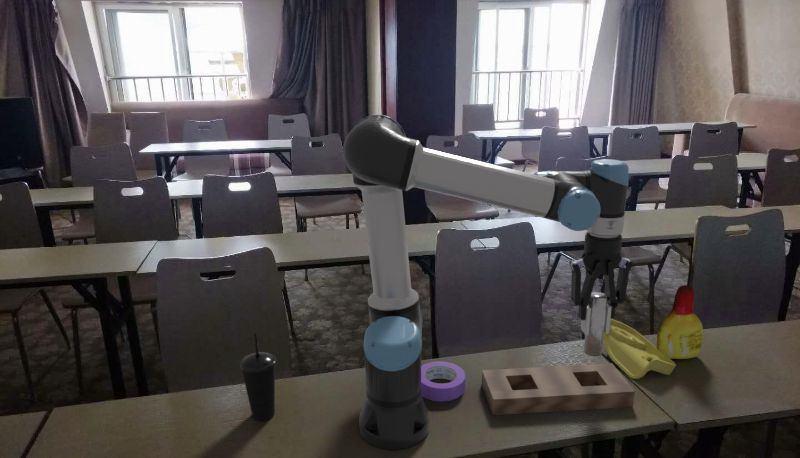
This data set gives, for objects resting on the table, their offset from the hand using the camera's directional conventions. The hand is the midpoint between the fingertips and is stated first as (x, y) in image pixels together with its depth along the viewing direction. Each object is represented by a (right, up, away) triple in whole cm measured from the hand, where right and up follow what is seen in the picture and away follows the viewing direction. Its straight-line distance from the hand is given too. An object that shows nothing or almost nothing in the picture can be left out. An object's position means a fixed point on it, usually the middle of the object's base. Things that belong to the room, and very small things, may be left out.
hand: (594, 331), depth 129 cm
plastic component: (+17, -11, +19) cm, 28 cm away
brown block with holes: (-8, -16, +4) cm, 18 cm away
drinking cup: (-75, -19, -1) cm, 77 cm away
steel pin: (0, -5, +2) cm, 5 cm away
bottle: (+28, -10, +20) cm, 36 cm away
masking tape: (-34, -15, +9) cm, 38 cm away
